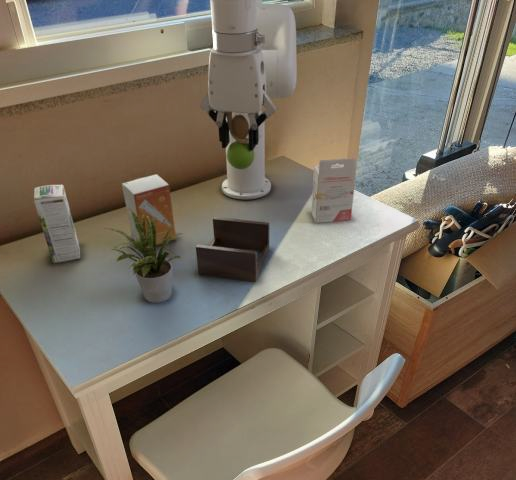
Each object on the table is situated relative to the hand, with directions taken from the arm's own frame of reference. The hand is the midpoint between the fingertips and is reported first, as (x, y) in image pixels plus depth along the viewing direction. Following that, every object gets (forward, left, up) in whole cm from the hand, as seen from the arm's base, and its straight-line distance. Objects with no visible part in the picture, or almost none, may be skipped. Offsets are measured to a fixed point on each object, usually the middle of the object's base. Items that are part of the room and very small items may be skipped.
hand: (239, 145), depth 100 cm
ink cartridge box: (-13, +18, -21) cm, 31 cm away
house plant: (+23, -12, -21) cm, 34 cm away
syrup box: (+15, -35, -21) cm, 43 cm away
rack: (+10, +1, -21) cm, 23 cm away
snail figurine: (0, 0, -5) cm, 5 cm away
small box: (+5, -19, -21) cm, 29 cm away
